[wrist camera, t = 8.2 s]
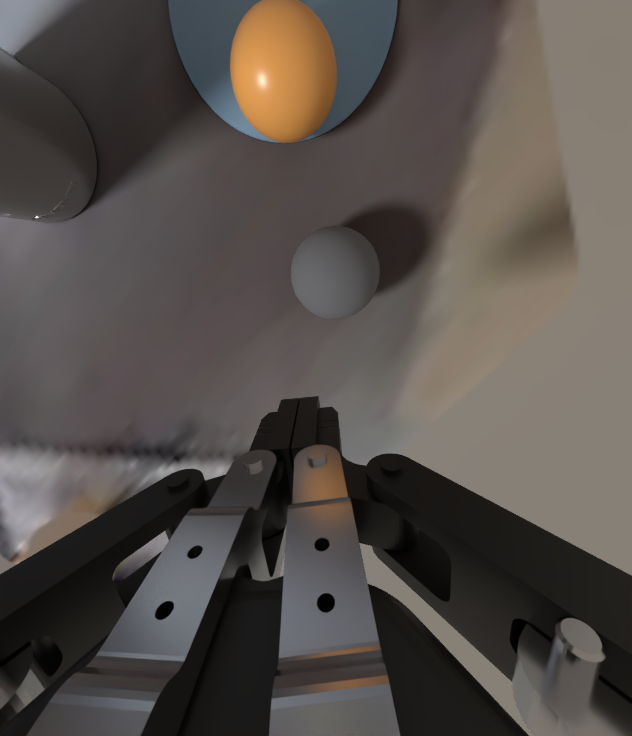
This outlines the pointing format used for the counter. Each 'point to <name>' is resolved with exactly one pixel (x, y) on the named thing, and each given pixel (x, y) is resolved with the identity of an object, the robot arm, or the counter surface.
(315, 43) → the object ball
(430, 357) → the counter surface
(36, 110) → the robot arm
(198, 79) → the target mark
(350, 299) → the cue ball
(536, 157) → the counter surface
